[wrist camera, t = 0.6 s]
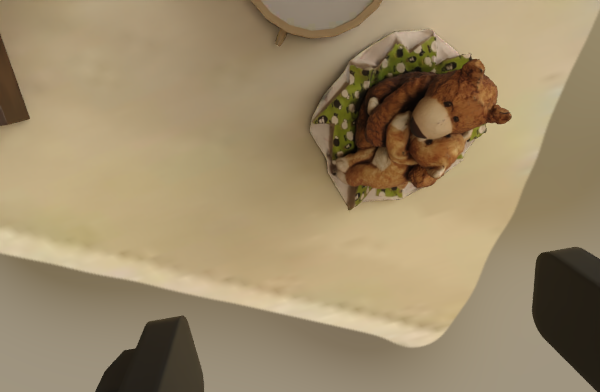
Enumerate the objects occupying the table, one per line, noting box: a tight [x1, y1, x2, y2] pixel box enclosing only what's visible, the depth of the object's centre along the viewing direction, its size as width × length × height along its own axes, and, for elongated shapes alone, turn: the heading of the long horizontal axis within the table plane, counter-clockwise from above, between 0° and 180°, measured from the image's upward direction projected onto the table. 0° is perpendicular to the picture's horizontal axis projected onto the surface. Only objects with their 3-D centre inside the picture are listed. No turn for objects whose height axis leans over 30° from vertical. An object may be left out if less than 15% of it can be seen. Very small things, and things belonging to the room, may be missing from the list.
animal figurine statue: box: [310, 29, 512, 210], centre depth 29 cm, size 14×15×12 cm
